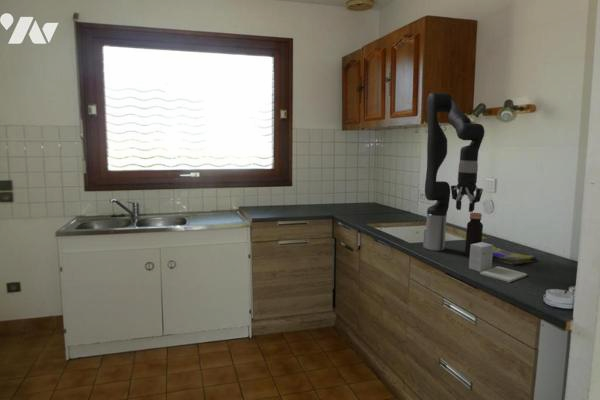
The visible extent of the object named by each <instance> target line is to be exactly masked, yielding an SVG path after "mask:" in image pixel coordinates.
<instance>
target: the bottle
mask: <svg viewBox="0 0 600 400" xmlns="http://www.w3.org/2000/svg"><path fill="white" fill-rule="evenodd" d="M481 220H482V213H481V212H469V222H467V224H466V234H465V235H466V237H465V245H464V246H465V249H464V255H465V256H466V257H468V258H470V246H471V244H475V243H480V242H483V241H482V240H483V230H484V228H483V227H484V225H483V222H481Z"/></svg>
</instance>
